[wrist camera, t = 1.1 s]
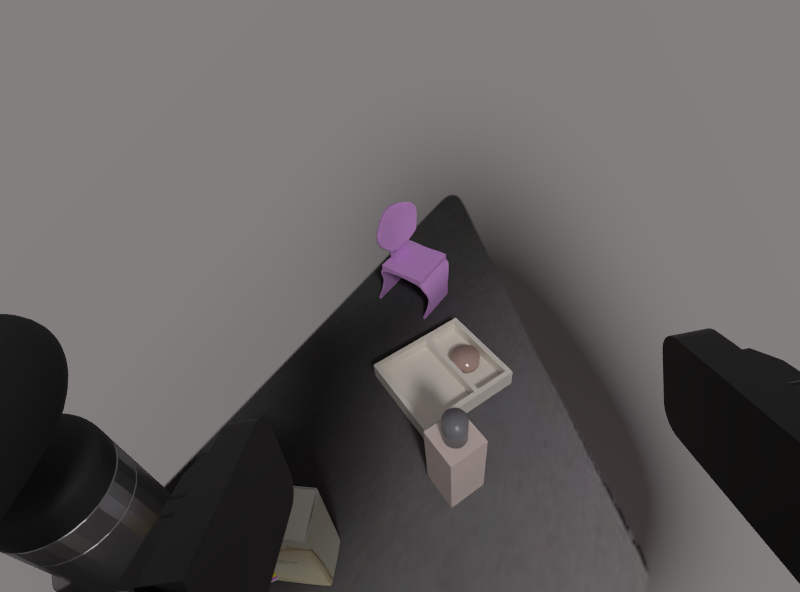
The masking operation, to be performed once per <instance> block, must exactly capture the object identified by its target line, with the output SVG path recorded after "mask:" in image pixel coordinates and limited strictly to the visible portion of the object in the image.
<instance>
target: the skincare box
mask: <svg viewBox="0 0 800 592" xmlns="http://www.w3.org/2000/svg"><path fill="white" fill-rule="evenodd" d="M293 487H294V499H293V506H292V509H291V513H290V517H289V520H288V524H287V527H286V531H285V535H284V538H283V542H282V545H281V549H280V552H279V556H278V560H277V563H276V567H275V570H274V573H275V574H276V576H277V577H278V580H281V581H288V582H296V583H305V584H314V585H324V586H331V585H332V582H333V577H334V572H335V568H336V562H337V557H338V552H339V546H340V538H339V536H338V534H337V531H336V529H335V527H334V525H333V523H332V520H331V518H330V516H329V514H328V512H327V509H326V507H325V505H324V503H323V500H322V498H321V496H320V494H319V491H318V489H317V488H311V487H300V486H293Z"/></svg>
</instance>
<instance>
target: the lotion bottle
mask: <svg viewBox="0 0 800 592" xmlns="http://www.w3.org/2000/svg"><path fill="white" fill-rule="evenodd" d="M423 433H424V443H425V453H426V463H427V473H428V476H429V478H430V479H431V480H432V482H433V483H434V484H435V486H436V487H437V489H438V490H439V491H440V493H441V494H442V495H443V497H444V498H445V500H446V501H447V502H448V504H449V505H450V506H451V508H452V507H454V506H455V505H456V504H458V503H459V502H460V501H462V500H463V499H464V498H466V497H467V496H468V495H470V494H471V493H472V492H474V491H475V490H476V489H478V488H479V487H480V486H482V485H483V483H484V473H485V463H486V453H487V443H488V441H487V440H486V439H485V438H484V436H483V435H482V434H481V433H480V432H479V431H478V430H477V428H476V427H475V426H474V425H473V424H472V423H471V422H470V420H469V418H468V415H467V414H466V412H465V411H463V410H462V409H460V408H450V409H447V410H446V411H445V412H444V413H443V415H442V417H441V420H440V421H439V422H437V423H436V424H434V425H433V426H431V427H430V428H428V429H427V430H425V431H424V432H423Z"/></svg>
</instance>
